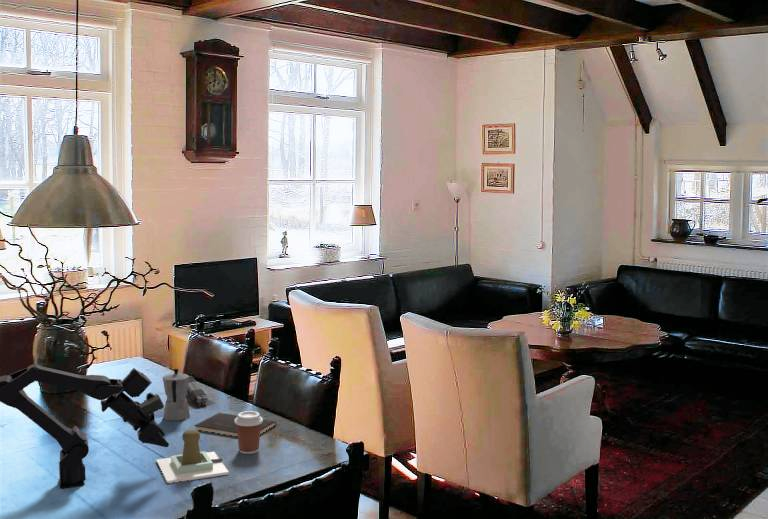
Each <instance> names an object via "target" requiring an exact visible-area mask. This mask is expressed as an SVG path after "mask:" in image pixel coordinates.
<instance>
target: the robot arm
mask: <svg viewBox="0 0 768 519" xmlns="http://www.w3.org/2000/svg"><path fill="white" fill-rule="evenodd" d="M35 382H39V383H43V384H48V385H51V386H52V385H53V386H57V387H61V388H67V389H69V390H75V391H78V392H81V393H82V394H83V395H86V396H88V397H91V398H93V399H95V400H97V401H100V408H101V409H100V410H101V412H102V413H104V412H105V411H107V409H108V408H109V409H110V410H112V411H113V412H114V413H115V414H116V415H118V416H119V417H120V418H121V419H122V422H124V423H127V424H129V425H130V426H131V427H132V429H133V430H134V431H135V432H137V434H136V435H137V438H138V441H140V442H141V443H142V444H149V445H155V446H159V447H163V448H168V447H169V446H170V443H169V442H168V441H167V439H166V438H165V436H166V434H165V432H164V431H163V430H162V428H161V427H160V425H159V424H158V423H157V422H156V420H155V412H157V411H159V410H162V409H165V404H164V402H163V401H162V399H161V396H160V395H159V394H157V393H155V394H154V393H153V392H149V393H145V392H144V391H145V390H146V389H148V387H150V385H152V383H153V382H152V381H151V379H150V378H149V377H148V376H147V375H146V374H144V372H141V371H139V370H138V369H136V368H135V367H133V368H132V369H130V371H129V373H127V375H126V376H125V377H124V378H123V379H120V378H109V377H108V376H106V375H99V374H87V375H86V374H85V375H82V374H76V373H73V372H69V371H64V370H59V369H54V368H50V367H47V366H46V367H45V366H42V365H39V364H36V363H34V364H31V365H29V366H27V367H25V368H23V369H20V370H17V371H15V372H13V373H11V374H10V375H8V374H6V375H5V374H4V375H1V376H0V403H2V404H3V405H6V406H7V407H11V408H14V409H17V410H18V411H19V412H20V413H22V414H23V415H25V417H27V418H28V419H29V420H31V422H33V423H34V424H36V425H37V426H38V427H39V428H41V429H42V430H43V431H44V432H46V433H47V434H48V435H49V436H50V437H52V438H53V439H55V441H56V442H57V443H58V445H59V446H60V448H61V450H60V451H59V461H58V474H59V476H58V483H59V484H58V485H59V488H60V489H66V488H72V487H78V486H84V485H85V481H86V480H87V479H86V465H85V463H84V461H83V460H84V458H86V457H87V455H88V454H89V450H90V449H89V448H90V447H89V439H88V438H87V433H86V432H83V431H81V429H80V428H79V427H78V426H77V425H74V427H73V428H69V427H67V426H65V425H64V424H63V423H61V422H60V421H59V420H58V419H57V418H55V417H54V416H53V415H52V414H50V412H48V411H46V410H45V409H44V408H43V407H42V406H40V404H38V403H37V402H36V401H34V400H33V399H32V398H31V397H29V396H28V393H26V392H25V390H24V389H25V388H27V387H29V385H32V383H35ZM143 393H145V394H146V397H145V399H144V400H143V402H141V403H140V402H139V401H136V400H135V401H134V399H132V398H136V397H137V398H138V397H140V396H141V394H143Z"/></svg>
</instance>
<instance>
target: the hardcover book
mask: <svg viewBox="0 0 768 519" xmlns="http://www.w3.org/2000/svg"><path fill="white" fill-rule="evenodd" d="M237 417H238V414H230V413H224V412H217V413H216V414H214V415H211V416H210V417H208V418H206V419H204V420H202V421H200V422H198V423H196V424H194V425H193V426H194V427H195V430H196V429H197V431H199V430H202V431H201V432H205V431H208V432H207V433H211V432H215V433H214V434H217V433H220V434H219V435H223V434H226V435H225V436H229V435H232V436H231V437H235V436H238V434H237V425H236V424H235V422H234V420H235V419H236V418H237ZM276 422H277V421H275V420H270V419H269V420H268V419H263V422H262V423H261V428H260V434H261V433H262V434H264V433H265V432H267V431H269V430H270V429H272V428H274V427H275V426H274V425H277V423H276ZM273 426H274V427H273ZM271 427H272V428H271ZM269 428H270V429H269ZM268 429H269V430H268ZM266 430H267V431H266ZM263 432H264V433H263ZM262 434H261V435H262Z"/></svg>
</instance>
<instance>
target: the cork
mask: <svg viewBox="0 0 768 519" xmlns="http://www.w3.org/2000/svg"><path fill="white" fill-rule="evenodd" d="M200 433H201V432H199V430H196V429H193V428H191V429H186V430H185V431H184V432H183V433H182V436H181V438H182V441H183V442H184V443H183V450H182V454H183V456H182V464H181V466H183V465H190V464H197V463H201V456H200V452H201V451H200V444H199V441H200V440H201V439H200V438H201V434H200Z"/></svg>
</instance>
